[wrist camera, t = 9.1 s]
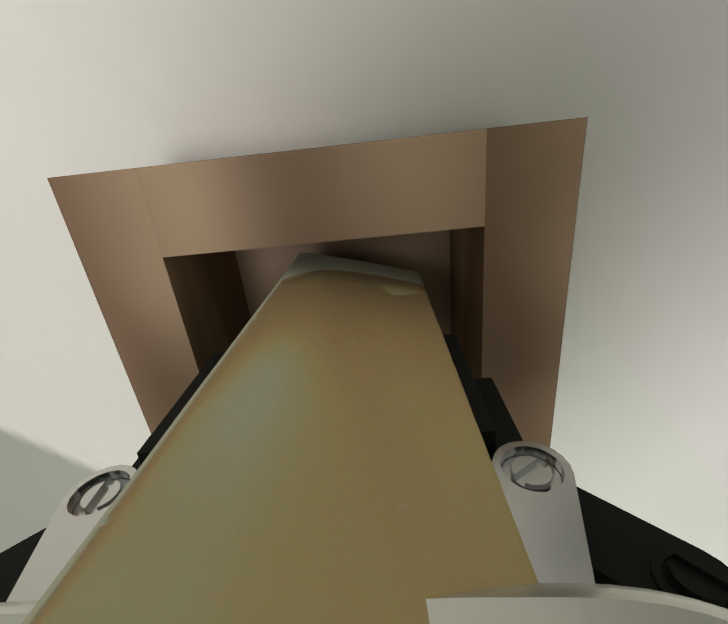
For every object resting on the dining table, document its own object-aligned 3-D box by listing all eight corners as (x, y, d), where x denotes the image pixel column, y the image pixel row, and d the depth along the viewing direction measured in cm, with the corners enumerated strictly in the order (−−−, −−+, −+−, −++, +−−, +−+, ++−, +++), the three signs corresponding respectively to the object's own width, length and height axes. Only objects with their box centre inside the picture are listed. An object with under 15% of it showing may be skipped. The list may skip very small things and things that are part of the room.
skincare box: (389, 413, 16) (434, 1109, 4) (282, 397, 15) (39, 1085, 4) (424, 260, 13) (758, 1006, 2) (296, 240, 13) (-248, 931, 2)
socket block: (504, 128, 14) (587, 117, 9) (494, 412, 19) (541, 518, 14) (166, 166, 15) (47, 177, 10) (242, 429, 20) (192, 536, 15)
